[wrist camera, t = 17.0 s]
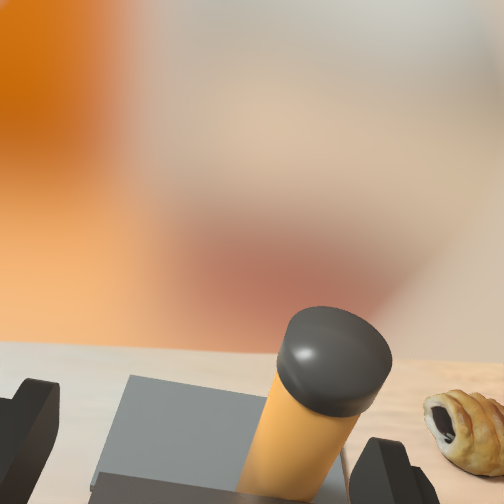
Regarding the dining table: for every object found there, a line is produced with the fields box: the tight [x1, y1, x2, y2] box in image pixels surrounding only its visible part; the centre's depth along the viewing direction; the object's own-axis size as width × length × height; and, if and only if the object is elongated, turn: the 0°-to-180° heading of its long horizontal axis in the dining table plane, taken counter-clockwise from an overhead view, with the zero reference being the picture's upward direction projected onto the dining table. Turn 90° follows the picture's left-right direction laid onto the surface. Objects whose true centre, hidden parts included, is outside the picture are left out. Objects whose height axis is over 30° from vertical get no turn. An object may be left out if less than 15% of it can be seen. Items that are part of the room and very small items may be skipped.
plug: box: [235, 306, 392, 503], centre depth 24 cm, size 5×5×14 cm
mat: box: [90, 375, 349, 504], centre depth 31 cm, size 16×9×1 cm, turn 89°
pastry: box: [423, 390, 504, 477], centre depth 36 cm, size 9×7×4 cm
